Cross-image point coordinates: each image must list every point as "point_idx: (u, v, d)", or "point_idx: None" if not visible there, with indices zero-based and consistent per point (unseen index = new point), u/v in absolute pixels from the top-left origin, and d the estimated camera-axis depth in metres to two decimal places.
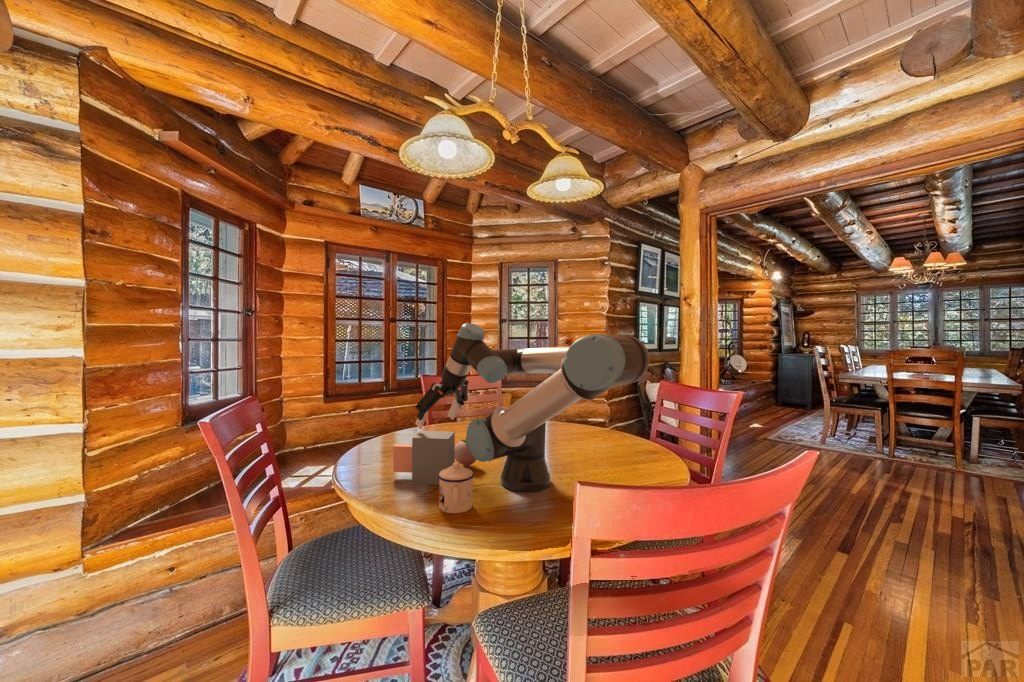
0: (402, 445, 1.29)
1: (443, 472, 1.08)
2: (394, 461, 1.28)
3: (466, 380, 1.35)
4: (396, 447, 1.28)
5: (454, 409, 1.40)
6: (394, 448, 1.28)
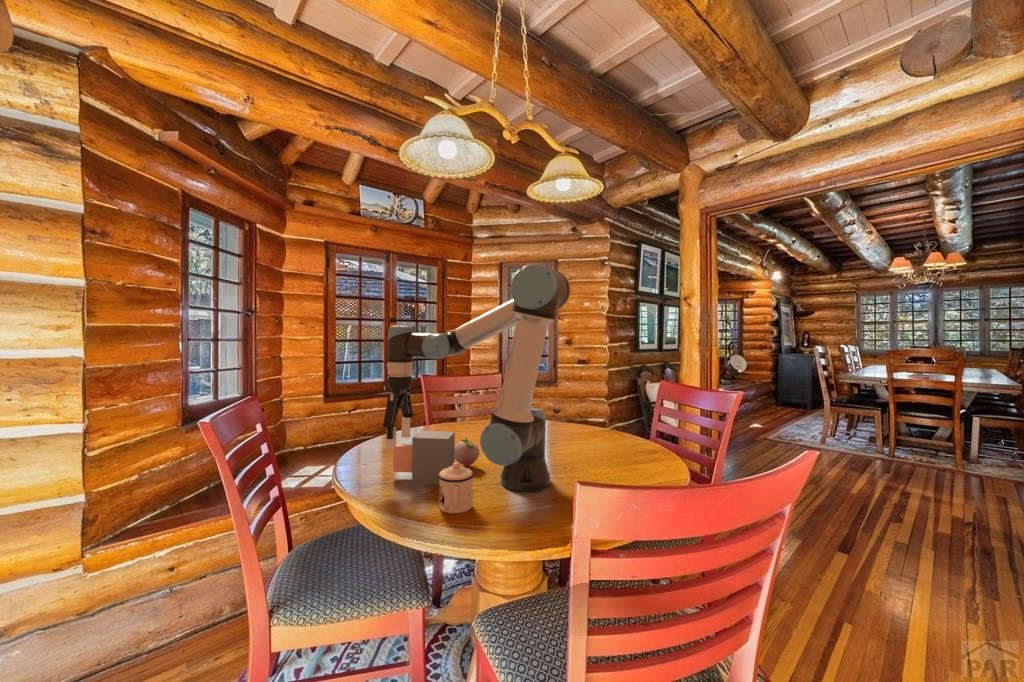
0: (402, 445, 1.29)
1: (443, 472, 1.08)
2: (394, 461, 1.28)
3: None
4: (396, 447, 1.28)
5: (407, 425, 1.36)
6: None
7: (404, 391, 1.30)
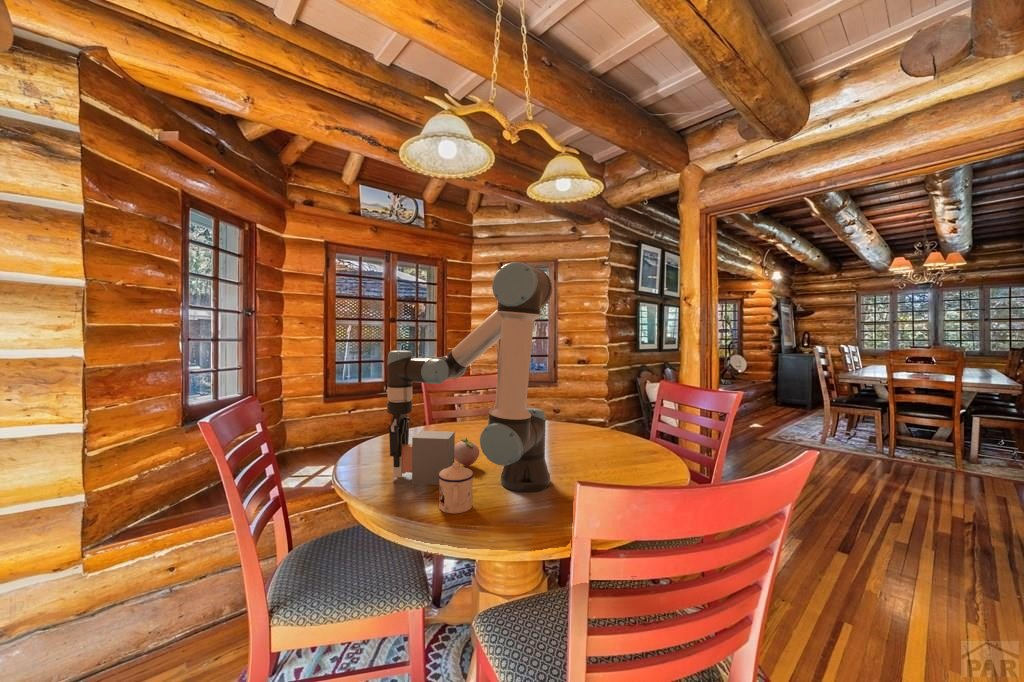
0: (402, 445, 1.29)
1: (443, 472, 1.08)
2: None
3: (407, 417, 1.35)
4: None
5: None
6: None
7: None
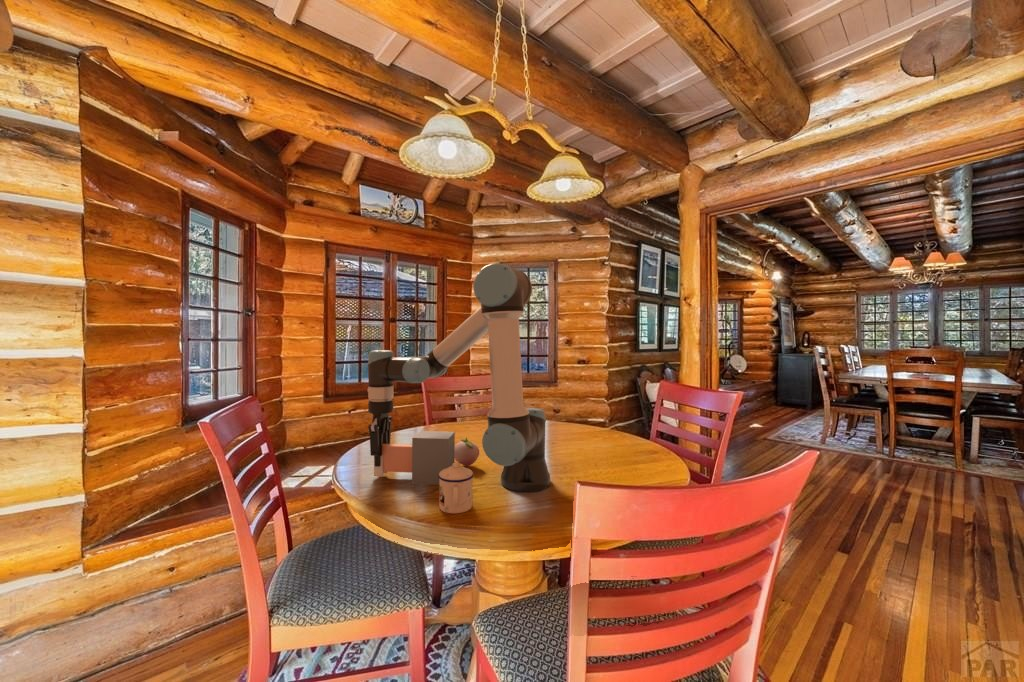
0: (383, 444, 1.30)
1: (443, 472, 1.08)
2: None
3: None
4: None
5: None
6: None
7: None
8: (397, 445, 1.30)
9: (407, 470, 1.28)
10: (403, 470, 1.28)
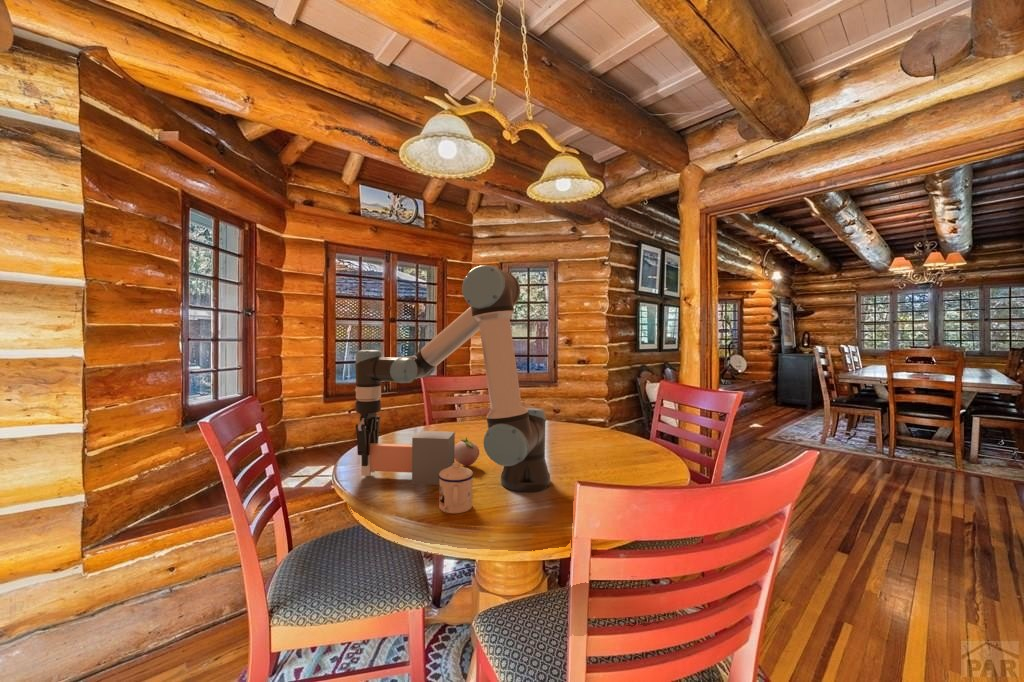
0: (371, 444, 1.30)
1: (443, 472, 1.08)
2: None
3: (377, 416, 1.36)
4: None
5: None
6: None
7: None
8: (384, 444, 1.30)
9: (394, 470, 1.29)
10: (390, 470, 1.29)
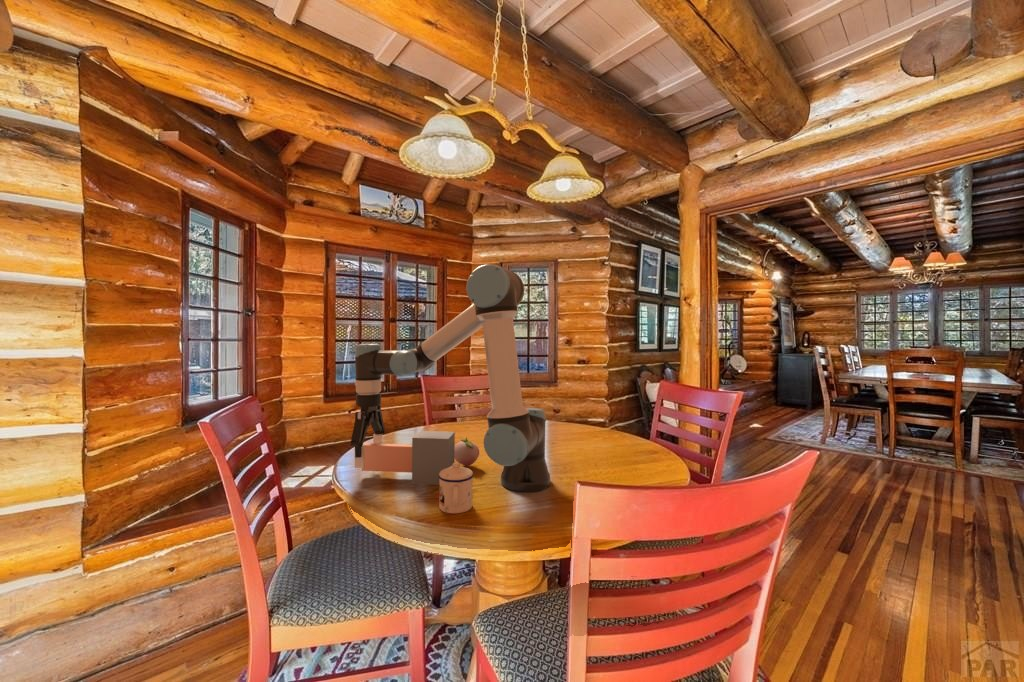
0: (371, 444, 1.30)
1: (443, 472, 1.08)
2: None
3: None
4: (364, 446, 1.29)
5: (378, 442, 1.37)
6: None
7: (373, 408, 1.31)
8: (384, 444, 1.30)
9: (394, 470, 1.29)
10: (390, 470, 1.29)
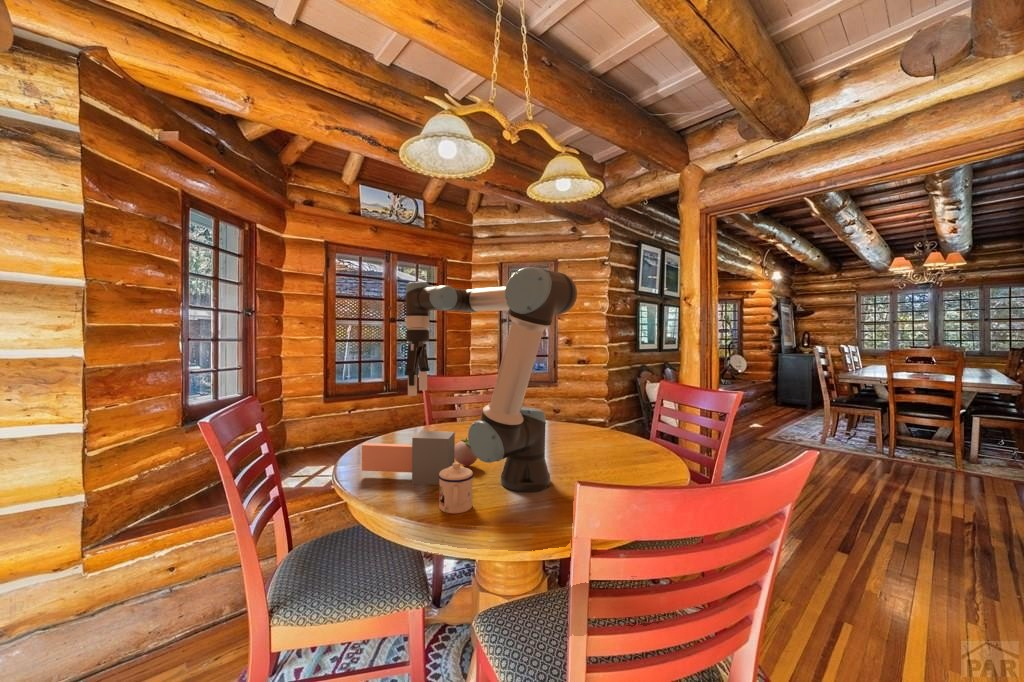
0: (371, 444, 1.30)
1: (443, 472, 1.08)
2: (362, 460, 1.29)
3: (424, 343, 1.44)
4: (364, 446, 1.29)
5: (424, 378, 1.45)
6: (362, 447, 1.29)
7: (422, 344, 1.39)
8: (384, 444, 1.30)
9: (394, 470, 1.29)
10: (390, 470, 1.29)
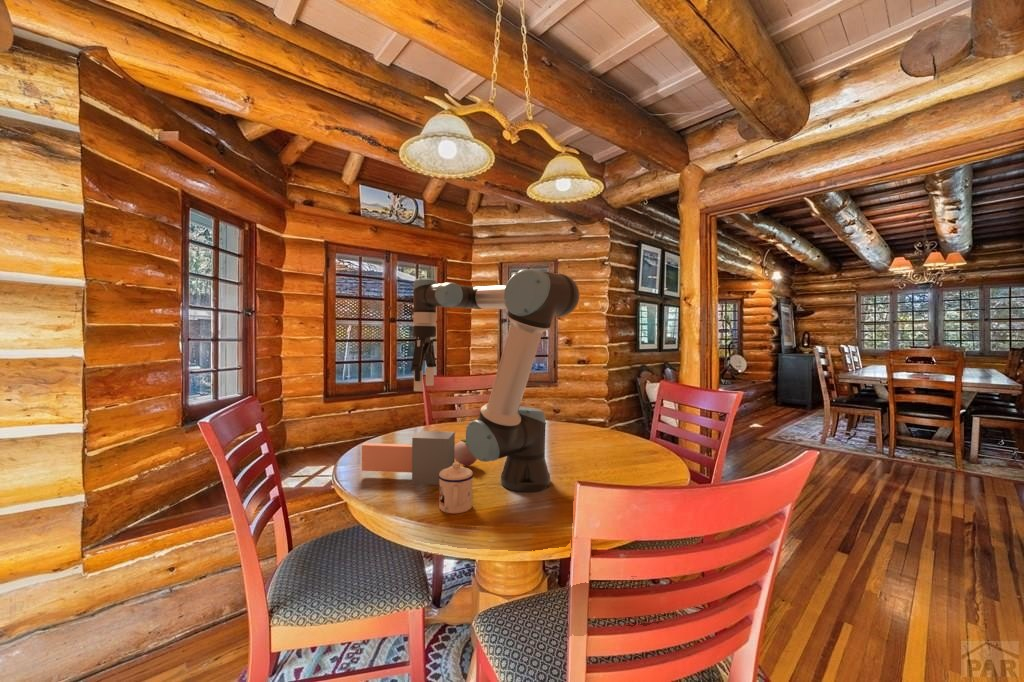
0: (371, 444, 1.30)
1: (443, 472, 1.08)
2: (362, 460, 1.29)
3: (431, 339, 1.46)
4: (364, 446, 1.29)
5: (430, 374, 1.46)
6: (362, 447, 1.29)
7: (428, 340, 1.41)
8: (384, 444, 1.30)
9: (394, 470, 1.29)
10: (390, 470, 1.29)
